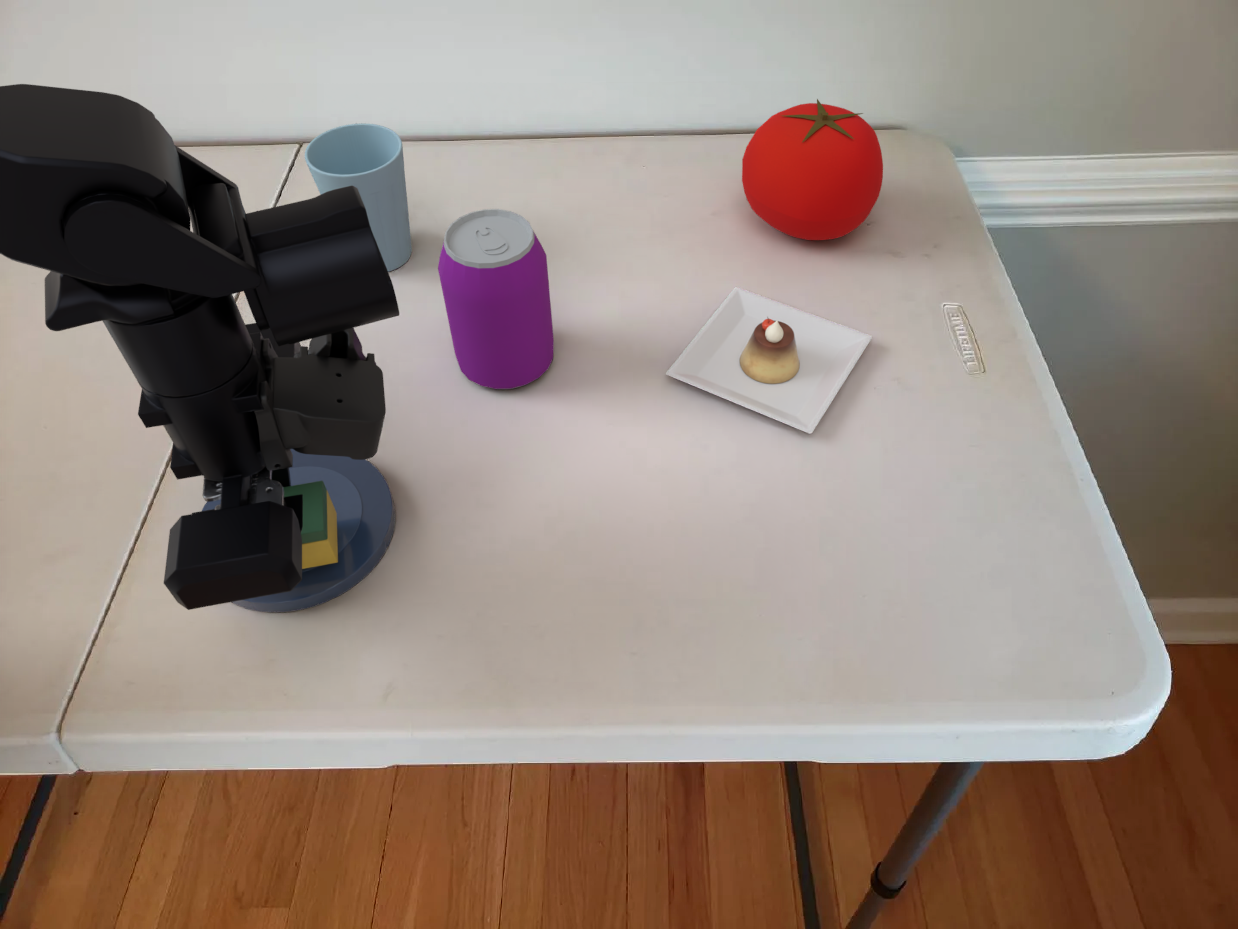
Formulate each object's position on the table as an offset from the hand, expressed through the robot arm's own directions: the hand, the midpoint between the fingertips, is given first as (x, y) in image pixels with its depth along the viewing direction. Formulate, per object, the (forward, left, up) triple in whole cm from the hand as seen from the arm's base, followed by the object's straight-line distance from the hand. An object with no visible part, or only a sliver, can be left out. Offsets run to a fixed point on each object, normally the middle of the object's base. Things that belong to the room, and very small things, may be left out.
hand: (284, 537), depth 58 cm
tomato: (+45, +28, -3) cm, 53 cm away
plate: (0, +3, -3) cm, 4 cm away
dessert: (+36, +11, -3) cm, 38 cm away
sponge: (0, 0, -1) cm, 1 cm away
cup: (+7, +32, -3) cm, 33 cm away
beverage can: (+16, +16, -3) cm, 23 cm away
